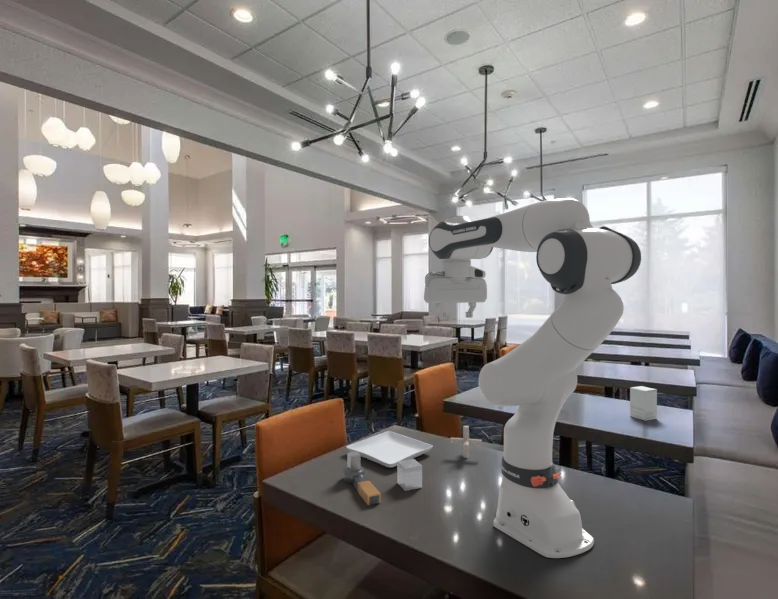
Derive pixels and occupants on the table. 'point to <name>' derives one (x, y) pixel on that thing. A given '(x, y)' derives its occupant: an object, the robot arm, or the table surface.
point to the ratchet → (360, 479)
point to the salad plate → (389, 448)
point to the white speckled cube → (409, 474)
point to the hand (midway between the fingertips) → (455, 318)
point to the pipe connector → (466, 441)
